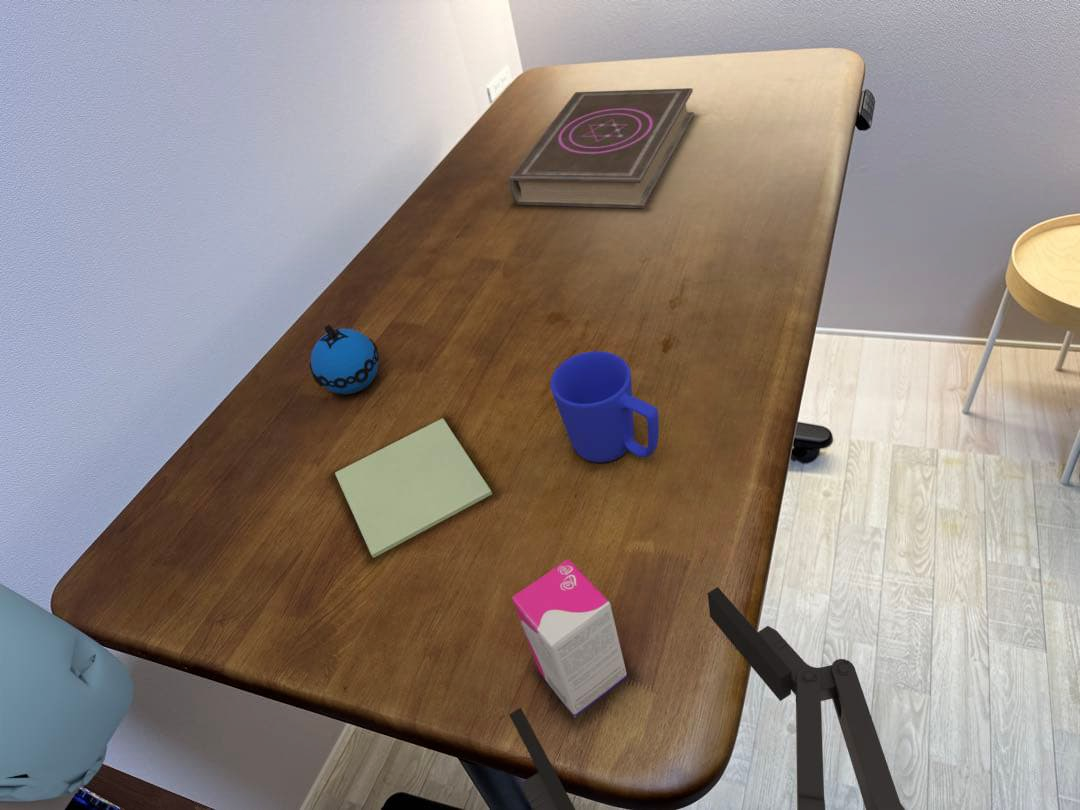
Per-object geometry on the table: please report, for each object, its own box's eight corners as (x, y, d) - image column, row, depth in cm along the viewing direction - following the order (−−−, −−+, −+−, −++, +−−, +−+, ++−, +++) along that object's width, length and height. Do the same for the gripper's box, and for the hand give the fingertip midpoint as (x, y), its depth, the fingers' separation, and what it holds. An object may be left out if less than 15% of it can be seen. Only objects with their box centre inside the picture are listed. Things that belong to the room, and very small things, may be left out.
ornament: (400, 380, 101) (374, 320, 94) (345, 418, 97) (313, 358, 91) (367, 355, 106) (339, 296, 99) (313, 390, 103) (281, 331, 96)
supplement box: (630, 676, 66) (612, 603, 58) (574, 720, 64) (548, 651, 56) (589, 629, 70) (567, 555, 62) (536, 669, 68) (506, 598, 60)
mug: (639, 499, 79) (627, 432, 72) (552, 452, 86) (533, 387, 79) (685, 448, 83) (678, 380, 76) (598, 407, 90) (585, 341, 83)
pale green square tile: (373, 558, 81) (371, 555, 80) (336, 475, 90) (334, 472, 90) (492, 494, 84) (491, 490, 83) (444, 421, 93) (442, 417, 93)
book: (643, 208, 119) (640, 179, 115) (513, 204, 128) (506, 177, 124) (694, 115, 137) (692, 87, 134) (577, 117, 146) (572, 91, 143)
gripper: (649, 1278, 31) (450, 800, 46) (1095, 910, 36) (786, 589, 51) (625, 1290, 26) (410, 748, 41) (1147, 860, 31) (788, 520, 46)
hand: (619, 659), depth 46 cm, fingers open, 13 cm apart
